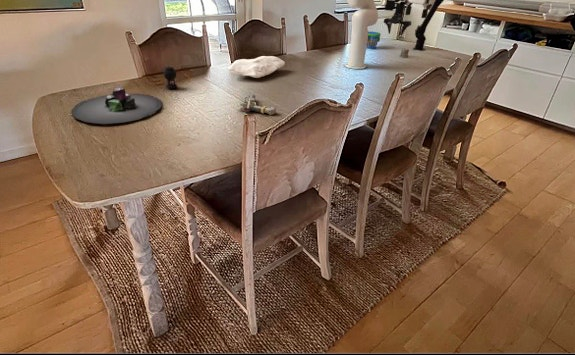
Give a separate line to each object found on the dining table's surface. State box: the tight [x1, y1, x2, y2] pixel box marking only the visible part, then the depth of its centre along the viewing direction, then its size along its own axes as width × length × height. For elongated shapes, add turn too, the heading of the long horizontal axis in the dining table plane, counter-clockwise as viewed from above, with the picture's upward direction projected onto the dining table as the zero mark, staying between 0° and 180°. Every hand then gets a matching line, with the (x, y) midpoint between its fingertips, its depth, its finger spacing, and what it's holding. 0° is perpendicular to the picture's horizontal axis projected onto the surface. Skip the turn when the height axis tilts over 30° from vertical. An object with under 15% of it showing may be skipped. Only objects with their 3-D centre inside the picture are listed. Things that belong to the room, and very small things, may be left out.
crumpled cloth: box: [227, 55, 286, 79], centre depth 196 cm, size 24×35×9 cm
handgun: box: [239, 93, 277, 116], centre depth 158 cm, size 3×18×15 cm
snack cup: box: [366, 31, 381, 49], centre depth 259 cm, size 16×10×10 cm
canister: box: [400, 48, 410, 58], centre depth 243 cm, size 5×5×5 cm
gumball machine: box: [161, 66, 179, 90], centre depth 173 cm, size 7×6×10 cm
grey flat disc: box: [70, 86, 163, 125], centre depth 150 cm, size 35×35×9 cm
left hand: (415, 16), depth 184 cm, fingers open, 9 cm apart
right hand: (395, 34), depth 263 cm, fingers open, 9 cm apart
